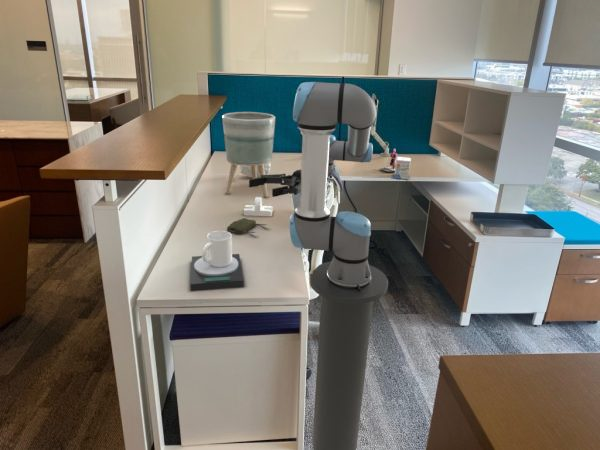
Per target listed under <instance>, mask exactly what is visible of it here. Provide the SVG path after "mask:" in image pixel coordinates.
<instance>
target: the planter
mask: <svg viewBox="0 0 600 450" xmlns="http://www.w3.org/2000/svg"><path fill="white" fill-rule="evenodd" d="M221 117H222V119H221V120H222V128H223V135H224V136H223V138H224V145H225V146H224V147H225V148H224V149H225V159H226V162H228V163H229V164H230V169H229V174H228V178H227V183H226V185H227V186H226V190H225V195H230V194H231V190H232V187H233V182H234V179H235V175H236V172H237V168H238V166H240V165H243V166H251V172H252V177H251V179H256V178H257V172H256V166H258V171H259V175H260V177H259V178H261V175H265V170H264V164H268V163H270V164H271V163H272V162H273V161H272V160H273V152H274V151H273V150H274V140H275V128H276V116H275V115H274V114H271V113H267V112H257V111H235V112H228V113H224V114H223V115H222V116H221ZM267 185H268V183H264V185H261V188H262V194H263V197H264V198H268V197H269V193H268V186H267Z"/></svg>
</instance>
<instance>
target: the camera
mask: <svg viewBox="0 0 600 450" xmlns="http://www.w3.org/2000/svg"><path fill="white" fill-rule="evenodd" d="M271 166H272V165H271V162H270V163H268V164H264V170H265V175H269V174H270V173H271ZM239 172H240V174H242V175H245V176H247V178H251V179H252V172H251V166H243V165H239ZM256 172H257V178H260V175H259V171H258V166H256Z"/></svg>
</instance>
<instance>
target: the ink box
mask: <svg viewBox="0 0 600 450" xmlns="http://www.w3.org/2000/svg"><path fill="white" fill-rule="evenodd" d="M411 161H412V158H411V157H404V156H397V158H396V166H395V171H394V177H393V178H394V179H401V180H409V176H410V168H411Z"/></svg>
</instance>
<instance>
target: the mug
mask: <svg viewBox="0 0 600 450" xmlns="http://www.w3.org/2000/svg"><path fill="white" fill-rule="evenodd" d="M206 241H207V242H206V244H205V245H204V246H203V249H202V250H201V256H202V259H203V261H204V262H205V263H209V264H210V265H212V266H214V267H225V266H228V265H230V264H231V262H232V254H233V235H232V232H228V231H227V230H214V231H210V232H209V233H208V234H206ZM206 256H208V259H207V258H206Z"/></svg>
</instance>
